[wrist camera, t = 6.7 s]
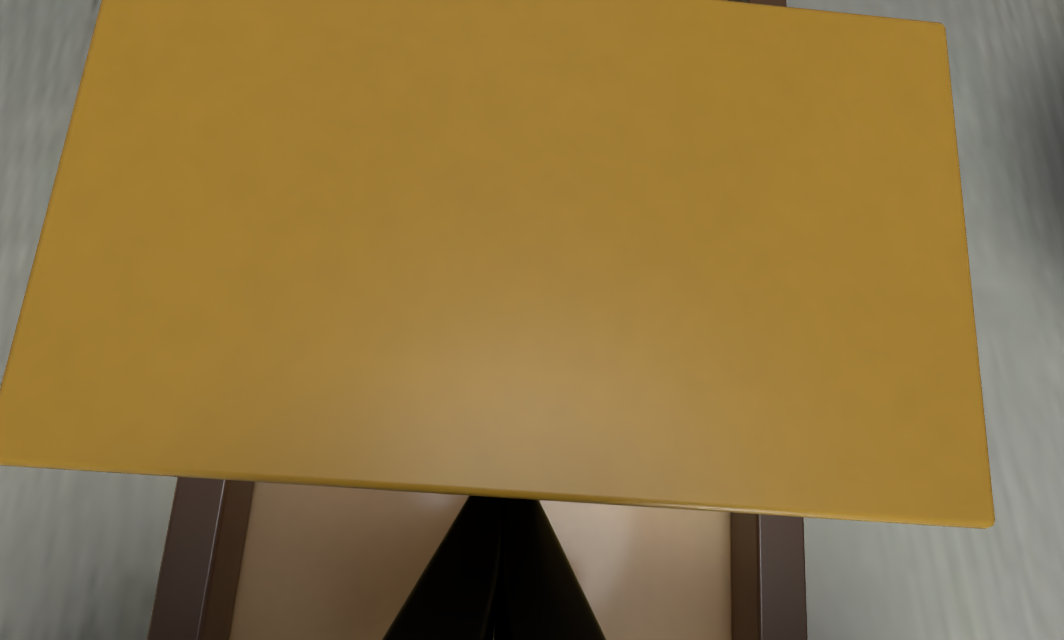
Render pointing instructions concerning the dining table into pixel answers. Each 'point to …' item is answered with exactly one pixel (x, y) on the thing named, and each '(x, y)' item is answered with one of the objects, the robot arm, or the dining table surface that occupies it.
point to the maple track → (414, 535)
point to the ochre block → (512, 257)
